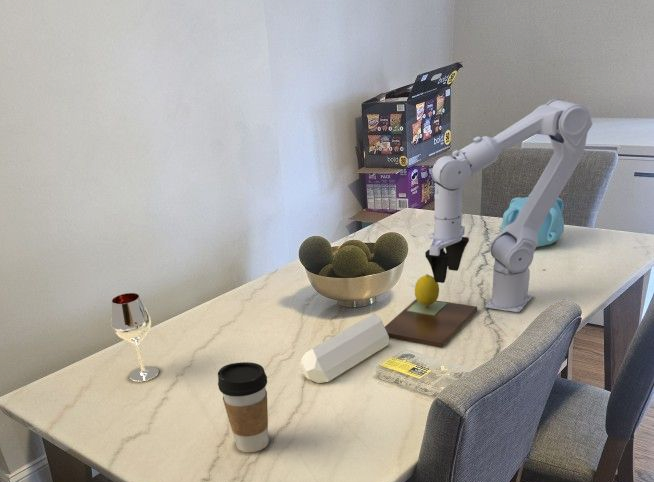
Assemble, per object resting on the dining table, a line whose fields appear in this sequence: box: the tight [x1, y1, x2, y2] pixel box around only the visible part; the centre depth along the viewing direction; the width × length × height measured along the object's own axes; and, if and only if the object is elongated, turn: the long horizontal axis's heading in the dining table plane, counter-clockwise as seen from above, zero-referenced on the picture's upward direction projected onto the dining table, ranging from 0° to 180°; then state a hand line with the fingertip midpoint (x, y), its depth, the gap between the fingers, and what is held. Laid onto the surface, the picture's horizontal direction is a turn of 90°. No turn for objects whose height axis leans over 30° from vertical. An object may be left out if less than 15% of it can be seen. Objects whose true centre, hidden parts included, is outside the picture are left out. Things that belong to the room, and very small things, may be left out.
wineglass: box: [110, 292, 160, 383], centre depth 146 cm, size 8×8×18 cm
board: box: [384, 298, 478, 348], centre depth 157 cm, size 20×15×1 cm
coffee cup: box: [217, 361, 270, 453], centre depth 120 cm, size 8×8×15 cm
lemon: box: [414, 273, 440, 307], centre depth 159 cm, size 6×6×8 cm
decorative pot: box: [500, 193, 565, 248], centre depth 189 cm, size 16×16×14 cm
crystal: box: [299, 313, 390, 384], centre depth 145 cm, size 7×7×24 cm
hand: (446, 275), depth 155 cm, fingers open, 7 cm apart
